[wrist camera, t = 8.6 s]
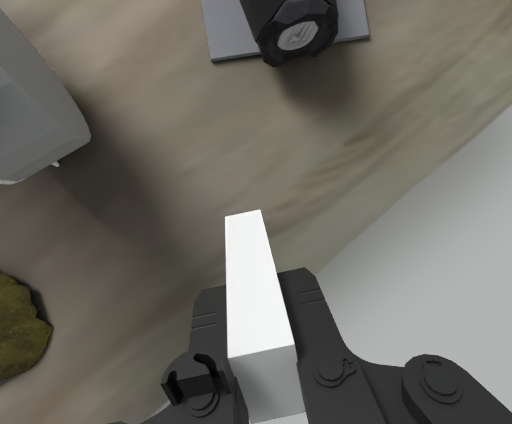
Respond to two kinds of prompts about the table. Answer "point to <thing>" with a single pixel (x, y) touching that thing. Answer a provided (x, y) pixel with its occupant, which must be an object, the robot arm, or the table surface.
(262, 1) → the portable speaker
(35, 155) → the alarm clock
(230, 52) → the rubber mat
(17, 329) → the mossy rock
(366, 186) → the table surface
